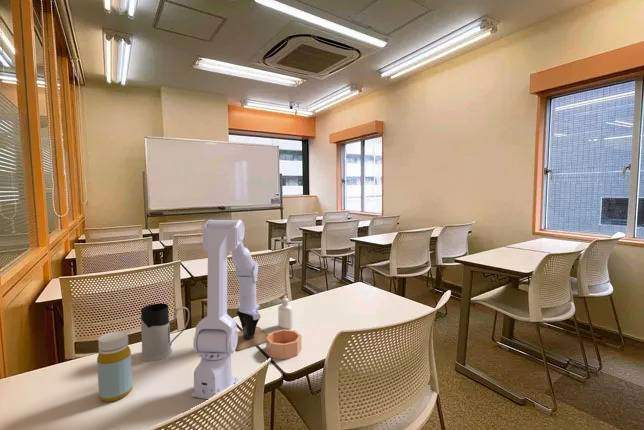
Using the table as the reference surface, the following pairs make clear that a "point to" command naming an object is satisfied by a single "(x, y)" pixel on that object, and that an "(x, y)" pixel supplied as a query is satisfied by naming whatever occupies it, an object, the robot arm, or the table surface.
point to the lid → (250, 339)
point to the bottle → (114, 366)
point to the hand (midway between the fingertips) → (248, 333)
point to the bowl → (283, 344)
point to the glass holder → (156, 331)
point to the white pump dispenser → (285, 315)
